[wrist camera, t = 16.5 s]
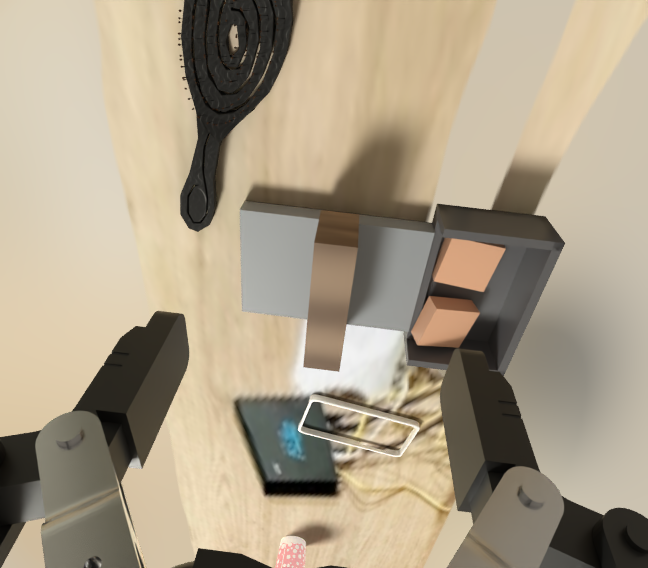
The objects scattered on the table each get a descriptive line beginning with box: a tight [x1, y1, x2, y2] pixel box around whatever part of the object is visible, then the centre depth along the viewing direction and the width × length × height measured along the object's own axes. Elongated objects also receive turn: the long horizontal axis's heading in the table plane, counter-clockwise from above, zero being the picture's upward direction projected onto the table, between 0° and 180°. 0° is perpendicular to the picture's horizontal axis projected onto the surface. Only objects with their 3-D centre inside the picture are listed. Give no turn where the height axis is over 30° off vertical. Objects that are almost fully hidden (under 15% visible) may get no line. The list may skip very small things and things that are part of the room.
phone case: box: [298, 394, 420, 457], centre depth 60 cm, size 7×1×15 cm
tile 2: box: [411, 296, 480, 348], centre depth 46 cm, size 5×5×2 cm
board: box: [240, 201, 435, 332], centre depth 45 cm, size 12×18×2 cm, turn 85°
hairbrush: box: [178, 0, 293, 232], centre depth 37 cm, size 8×4×25 cm
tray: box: [404, 204, 565, 376], centre depth 43 cm, size 16×10×5 cm, turn 175°
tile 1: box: [432, 238, 506, 292], centre depth 42 cm, size 5×5×2 cm
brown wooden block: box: [304, 210, 359, 371], centre depth 42 cm, size 14×4×6 cm, turn 175°
